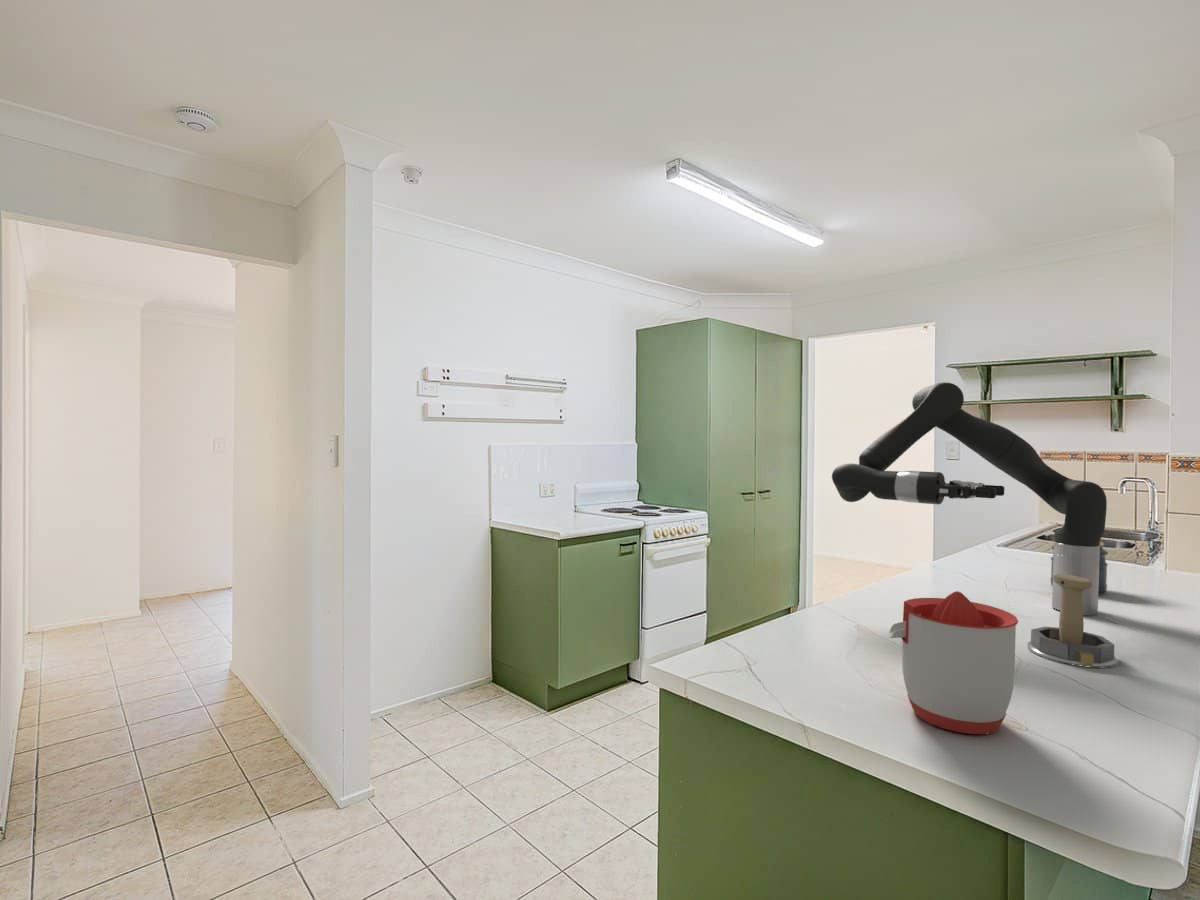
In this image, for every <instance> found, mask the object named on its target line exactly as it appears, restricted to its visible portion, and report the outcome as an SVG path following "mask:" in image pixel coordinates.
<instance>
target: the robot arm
mask: <svg viewBox="0 0 1200 900" xmlns="http://www.w3.org/2000/svg"><path fill="white" fill-rule="evenodd" d="M963 393H964V392H963V391H962V389H961V388H960V387H959V386H958V385H956V384H955V383H951V382H944V381H943V382H937V383H934V384H932V385H929V386H925V387H924V388H922V389H920V390H917V392H916V393H914V395H913V397H912V403H911V404H912V408H913V410H912V412H911V413H910V414H909V415H908V416H907V417H905V418H904V419H902V420H901V421H900V422H898V423H897V424H895V425H894V426H893V427H891V428H890V429H888V430H887V431H885V432H884V433H883V434H881V435H880V436H878V437H877V439H875V440H874V441H873V442H872V443H870V445H868V447H866V449H865V450H863V451H862V452H861V453H860V455H859V456H858V464H857V463H844V464H841V465H838V466H837V467H836V468H834V469H833V471H832V473H831V479H832V483H833V484H834V486H835V489H836V490H837V493H838V495H839V496H840V498H841V499H842V500H843V501H845V502H849V503H856V502H859V501H861V500H862V499H864V498H866V496H868V494H869V493H871V494H872V496H874V497H875V498H877V499H880V500H890V501H901V502H907V503H915V504H916V503H917V504H929V505H940V504H943V501H944V500H945V497H946V498H947V497H948V498H949V499H953V500H955V499H956V500H957V499H960V500H965V499H966V500H967V499H974V498H981V499H995V498H996V497H997V496H999V497H1000V496H1001V497H1002V496H1004V495H1005V486H1004V485H994V484H993V485H990V484H985V483H982V482H979V483H976V482H974V481H961V480H956V479H955V480H949V482H946V481H945V480H946V479H945V478H946V477H945V476H944V474H943V473H942V472H939V471H923V470H922V471H920V470H919V471H918V470H904V471H896V470H888V468H889V467H890V466H891V465H893V464H894V463H895V462H896V461H897V460H898V459H899V458H900V457H902V456H903V454H905V453H906V452H907V450H909V449H910V448H911V447H913V445H915V443H916V442H918V441H919V440H920V439H921V438H923V437H924V436H925V435H926V434H928V433H929V432H931V431H932V430H933V429H934V428H938V429H939V430H941V431H943V432H944V433H947V434H949V435H950V436H952V437H953V438H954V439H957V440H958V441H959V442H961V443H962V444H963V445H965V446H966V447H967V448H969V449H970V450H972V451H973V452H974V453H976V454H977V455H979V456H980V457H981V458H982V459H984V460H985V461H987V462H988V463H990V464H992V466H994V467H995V468H997V469H999V470H1000V471H1002V472H1004V474H1006V475H1008V476H1009V477H1011V478H1013V480H1015V481H1017V482H1018V483H1020V484H1022V485H1024V486H1026V487H1027V488H1029V490H1031V491H1032V492H1034V493H1035V494H1036V495H1037V496H1038V497H1039V498H1041V500H1042V501H1044V502H1045V503H1046V504H1047V505H1048V506H1050V507H1051V508H1052V509H1054V510H1055V511H1056V512H1057V513H1060V514H1062V515H1064V516H1065V517H1064V524H1063V526H1062V527H1061V528H1059V529H1056V530H1055V531H1054V534H1053V546H1054V560H1053V587H1052V594H1051V595H1052V597H1051V608H1052V607H1053V608H1052V609H1054V608H1055V609H1054V610H1056V609H1057V610H1056V611H1058V610H1060V608H1061V597H1062V588H1061V586H1060V585H1058V584H1057V583H1056V582H1054V575H1057V574H1063V575H1071V576H1077V577H1082V578H1086V579H1089V580H1091V581H1092V587H1091V588H1089V589H1085V590H1083V595H1082V598H1083V614H1084V615H1083V616H1096V614H1097V615H1098V613H1099V612H1098V611H1099V595H1098V590H1099V555H1100V541H1101V539H1102V538H1103V535H1104V533H1105V527H1106V517H1107V510H1108V509H1107V505H1108V504H1107V503H1108V501H1107V500H1108V499H1107V497H1106V496H1107V495H1106V493H1105V490H1104V489H1103V487H1101V486H1100V485H1099V484H1097V483H1096V482H1095V483H1094V482H1092V481H1085V480H1076V479H1072V478H1070V477H1067V476H1065V475H1063V474H1061V473H1060V472H1058V471H1056V470H1054V469H1053V468H1052V467H1050V466H1049V465H1047V464H1046V463H1045V462H1044V461H1043V460H1042V458H1041V457H1040V455H1039V453H1038V452H1037V451H1036V449H1035V448H1034V447H1033V446H1032V445H1031V444H1030V443H1029V442H1027V441H1026V440H1025V439H1023V438H1022V437H1020V436H1019V435H1018V434H1017V433H1015V432H1013V431H1012V430H1010V429H1009V428H1006V427H1004V426H1002V425H999V424H997V423H994V422H991V421H989V420H985V419H983V418H980V417H978V416H975V415H972V414H970V413H968V412H967V411H966V410H964V409H963V405H964V400H965V398H964V394H963Z"/></svg>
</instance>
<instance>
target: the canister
mask: <svg viewBox="0 0 1200 900" xmlns="http://www.w3.org/2000/svg"><path fill="white" fill-rule="evenodd" d="M1104 546H1105V543H1104V542H1103V541H1101V540H1100V555H1099V590H1098V594H1103V595H1105V594H1106V593H1107V590H1108V584H1107V576H1108V575H1107V574H1108V566H1109V565H1108V563H1107V560H1106V556H1108V554H1109V552H1108V551H1107V550H1105V549H1104ZM1050 548H1051V549H1052V551H1053V552H1052V553H1053V554H1052V557H1050V560H1051V569H1050V581H1049V583H1050V585H1051V586H1053V560H1054V545H1052V546H1051V547H1050ZM1104 593H1105V594H1104Z"/></svg>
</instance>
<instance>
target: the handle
mask: <svg viewBox="0 0 1200 900" xmlns="http://www.w3.org/2000/svg"><path fill="white" fill-rule="evenodd" d="M1054 582H1056V583H1057V584H1058V585H1060V586H1061V588H1062V597H1061V608H1060V611H1059V618H1058V628H1059V636H1060V641H1061V642H1065V643H1069V644H1078V645H1081V644H1082V639H1083V632H1084V615H1083V598H1082V595H1083V590H1085V589H1089V588H1091V587H1092V581H1091V580H1089V579H1086V578H1082V577H1077V576H1071V575H1063V574H1057V575H1054Z"/></svg>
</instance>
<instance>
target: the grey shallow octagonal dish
mask: <svg viewBox="0 0 1200 900" xmlns="http://www.w3.org/2000/svg"><path fill="white" fill-rule="evenodd" d="M1027 649H1028V651H1030V652H1031V653H1032V654H1035V655H1036V656H1038V655H1039V657H1041V656H1042V657H1041V658H1043V657H1045V658H1044V659H1046V658H1048V659H1047V660H1049V659H1051V660H1050V661H1052V660H1055V661H1054V662H1056V661H1058V662H1057V663H1060V662H1063V663H1062V664H1064V663H1068V664H1067V665H1069V664H1074V665H1082V666H1090V667H1110V668H1112V667H1111V666H1114V665H1116V664H1117V665H1118V659H1117V657H1116V656H1115V644H1114V643H1113V642H1111V641H1110V640H1108V639H1107V638H1105V637H1104V636H1102V635H1098V634H1094V633H1092V632H1091V633H1090V632H1086V631H1083V639H1082V644H1081V645H1078V644H1069V643H1065V642H1061V641H1060V636H1059V627H1052V626H1042V627H1037V628H1033V629H1031V630H1030V641H1028V643H1027ZM1074 665H1073V666H1074ZM1117 665H1116V666H1117ZM1114 667H1115V666H1114Z"/></svg>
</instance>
